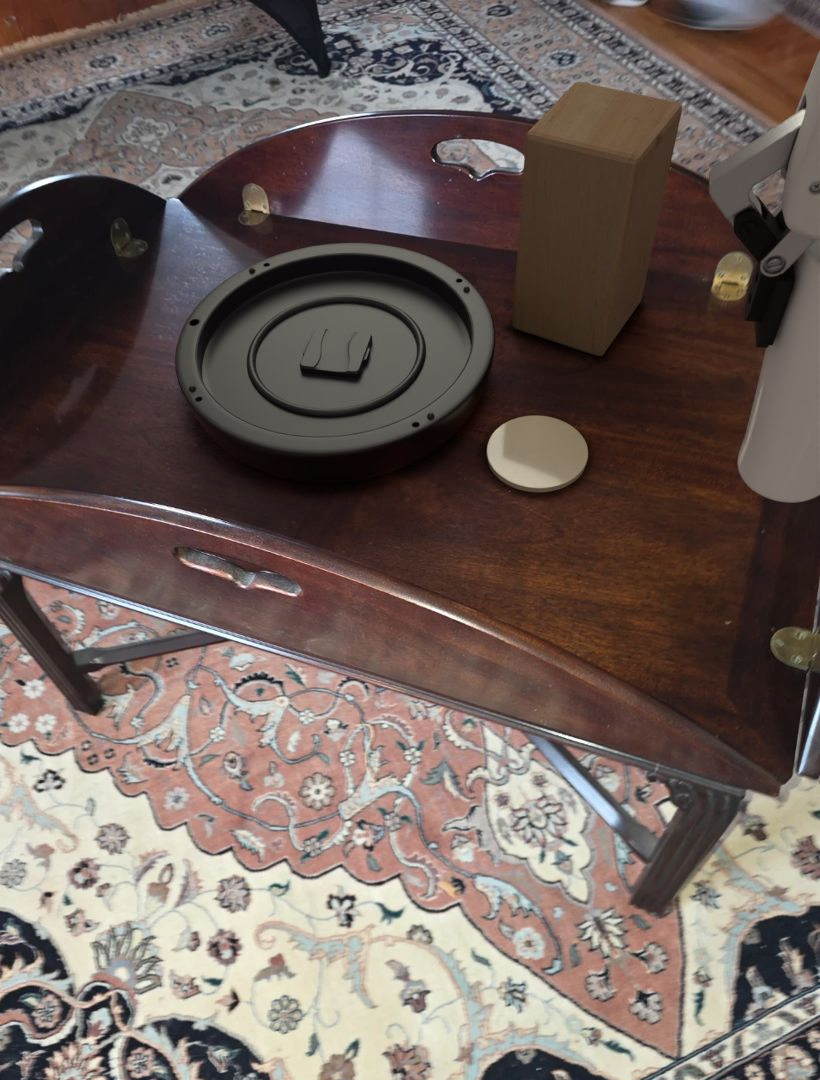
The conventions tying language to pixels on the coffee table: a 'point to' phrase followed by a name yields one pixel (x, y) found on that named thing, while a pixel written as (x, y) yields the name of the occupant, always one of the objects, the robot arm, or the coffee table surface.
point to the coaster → (537, 453)
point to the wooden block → (590, 213)
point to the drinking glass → (789, 398)
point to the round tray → (336, 360)
